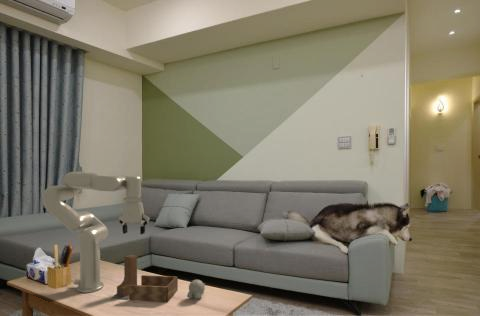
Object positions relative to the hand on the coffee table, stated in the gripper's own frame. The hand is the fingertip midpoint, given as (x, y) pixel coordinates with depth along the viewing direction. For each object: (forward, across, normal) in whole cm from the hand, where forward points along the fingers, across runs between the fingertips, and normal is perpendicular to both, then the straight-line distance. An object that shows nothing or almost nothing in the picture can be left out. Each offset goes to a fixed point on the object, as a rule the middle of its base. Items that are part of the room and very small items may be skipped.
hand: (133, 233), depth 165 cm
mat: (+29, -2, -6) cm, 29 cm away
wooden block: (+29, -1, -6) cm, 29 cm away
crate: (+29, +13, -5) cm, 32 cm away
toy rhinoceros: (+29, +35, -3) cm, 46 cm away
